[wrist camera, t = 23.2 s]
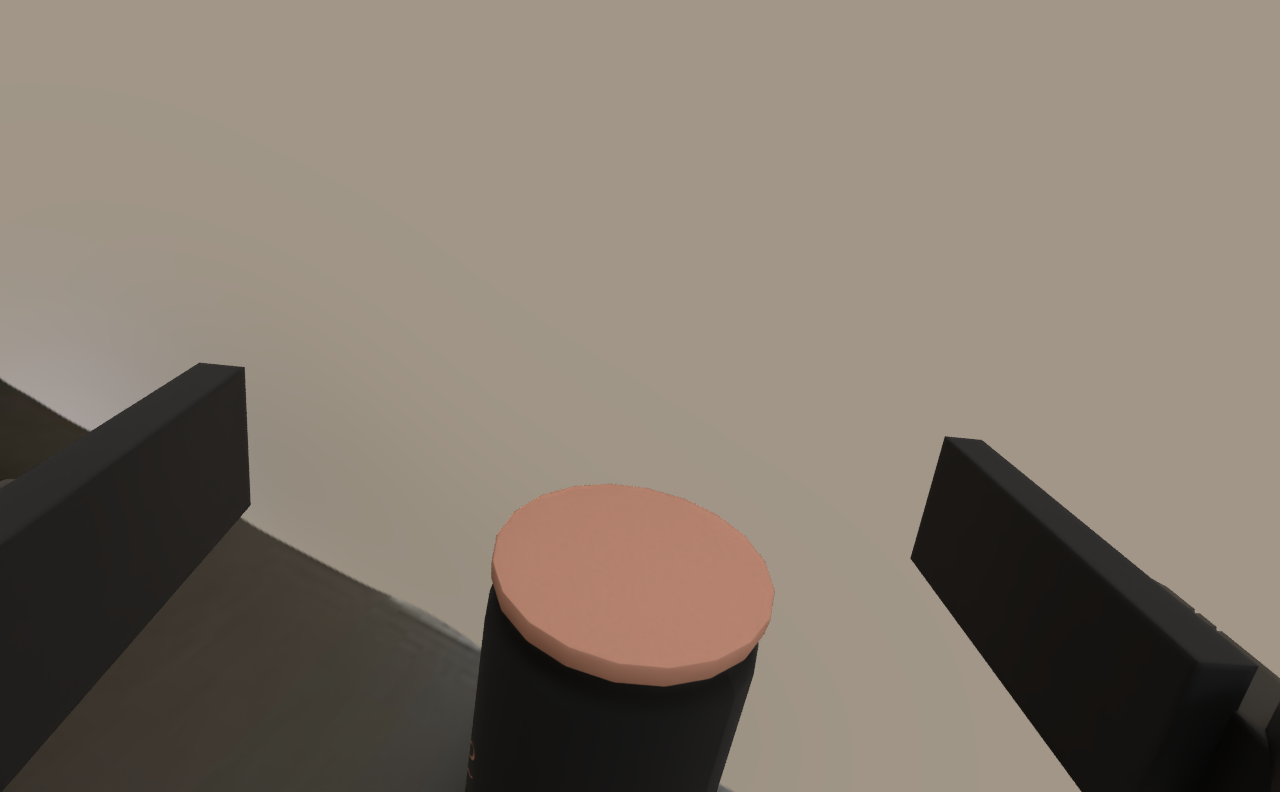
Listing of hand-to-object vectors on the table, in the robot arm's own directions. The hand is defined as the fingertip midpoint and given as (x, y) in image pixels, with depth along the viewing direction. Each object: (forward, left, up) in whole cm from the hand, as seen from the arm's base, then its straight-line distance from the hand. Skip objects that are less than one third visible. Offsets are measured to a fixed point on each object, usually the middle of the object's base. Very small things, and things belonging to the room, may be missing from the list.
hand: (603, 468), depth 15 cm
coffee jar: (-2, +11, -28) cm, 30 cm away
